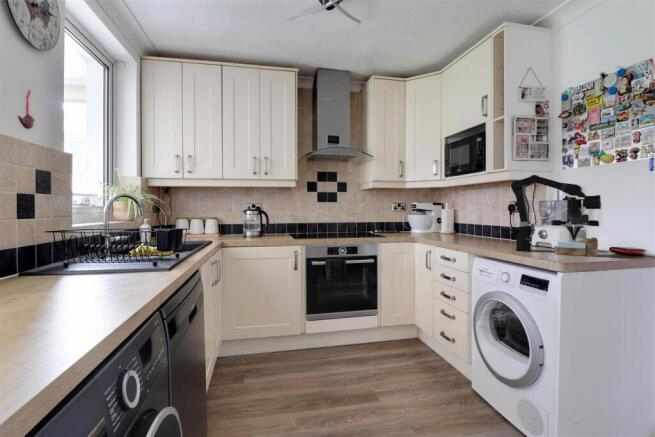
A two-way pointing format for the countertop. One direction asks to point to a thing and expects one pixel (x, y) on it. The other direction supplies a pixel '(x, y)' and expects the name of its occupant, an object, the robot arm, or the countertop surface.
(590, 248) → the chisel box
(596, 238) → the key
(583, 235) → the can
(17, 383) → the countertop surface
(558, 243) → the lid
